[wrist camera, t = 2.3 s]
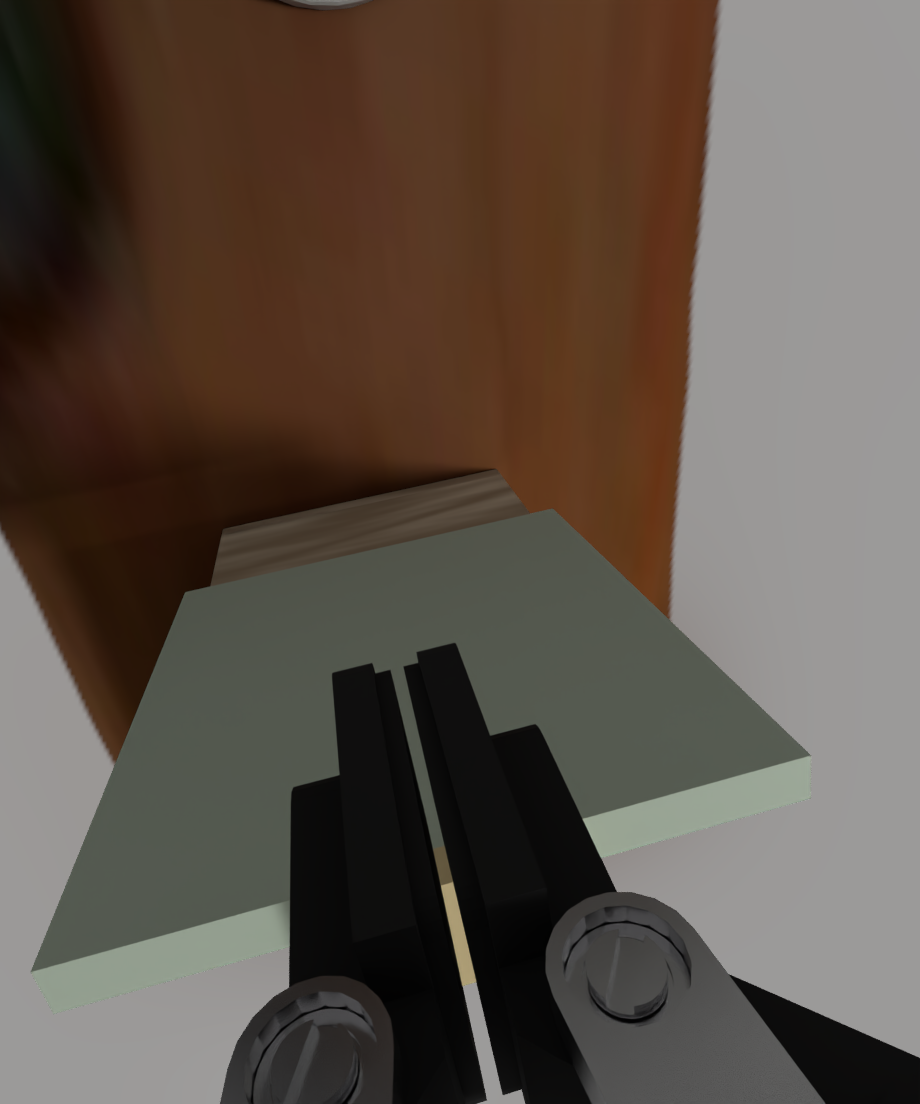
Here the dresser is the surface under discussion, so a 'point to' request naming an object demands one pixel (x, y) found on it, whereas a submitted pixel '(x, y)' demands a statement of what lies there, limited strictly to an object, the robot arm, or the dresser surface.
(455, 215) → the dresser surface
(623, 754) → the lid
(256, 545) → the box
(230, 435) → the dresser surface
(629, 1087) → the robot arm
